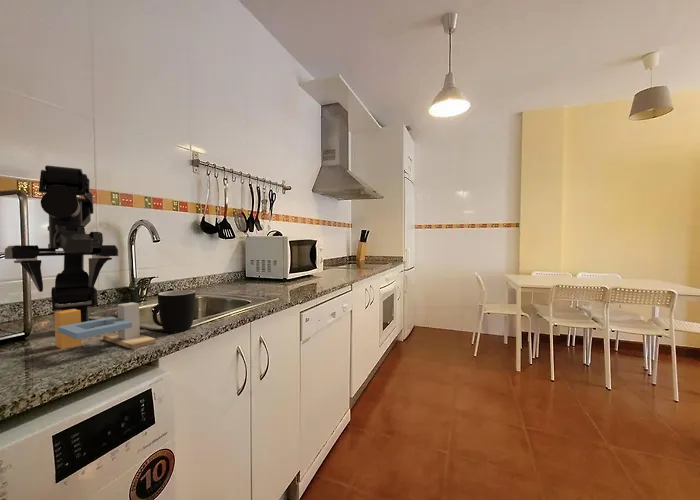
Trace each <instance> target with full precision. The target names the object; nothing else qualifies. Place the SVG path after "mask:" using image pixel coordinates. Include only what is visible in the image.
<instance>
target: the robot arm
mask: <svg viewBox="0 0 700 500" xmlns="http://www.w3.org/2000/svg"><path fill="white" fill-rule="evenodd" d="M90 183H91V182H90V178H88V175H87V174H86V173H84V172H83V170H82V168H79V167H78V168H76V167H65V166H56V165H49V164H48V165H45V166H44V169H41V170H40V176H39V184H38V193H40V194H43V196H42V197H41V199H40V207H41V208H42V210H43V211H44V212H45V213H46V214H48V225H47V231H48V235H49V236H48V239H49V242H48V244H47V247H42V248H41V247H40V248H39V246H38V245H37V244H35V245H30V244H28V245H25V244H24V245H18V244H17V245H8V246H6V247H5V249H4V260H13V263H14V264H20V265H21V266H22V267H23V269H24V270H25V272H27V274H28V275H29V277H30V278H31V280H32V282H33V284H34V285H35V287H36V289H37V291H38V293H43V292H44V283H43V281H44V280H43V276H42V269H41V266H42V259H38V257H56V256H57V257H58V256H61V257H62V256H63V270H62V271H61V272H59V273H57V274H56V276H55V281H54V283H55V284H54V286H52V287H51V292H50V294H51V306H52V311H54V312H55V311H63V310H70V309H77V310H81V322H86V321H90V319H89V318H90V314H89V312H90V310H89V308H90V307H91V308H93V307H95V306H98V305H99V304H98V301H99V300H98V289H97V288H95V284H96V282H97V280H98V277H99V274H100V273H101V271H102V268H103V267H104V265H105V264H106V263H107V262H108V261H111V260H113V257H119V249H118V247H117V246H116V245H115V244H111V245H110V244H107V245H106V244H105V245H104V235H103V232H101V231H90V232H89V233H86V230H85V229H86V228H85V227H87V226H88V224H90V223H91V219H92V218H91V217H92V216H91V215H93V214H94V197H93V193H92V192H90ZM78 196H80V197H78ZM81 196H82V197H81ZM59 249H62V250H59ZM84 256H91V257H89V258H88V272H87V271H85V270H84V269H85V266H84V265H85V260H84V258H85V257H84ZM93 328H95V327H93ZM88 329H90V328H88Z"/></svg>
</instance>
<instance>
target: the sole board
mask: <svg viewBox="0 0 700 500" xmlns="http://www.w3.org/2000/svg"><path fill="white" fill-rule="evenodd" d="M103 340H104V341H106V342H107V341H108V342H111V343H113V344H116V345H119V346H122V347H124V348H128V349H131V350H135V349H139V348H143V347H147V346H149V345H153V344H156V343H157V339H156V338H155V337H152V336H148V335H144V334H140V336H139V337H135V338H131V339H127V340H124V339H121V338H118V331H115V332H111V333H106V334H103Z"/></svg>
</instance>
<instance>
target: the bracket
mask: <svg viewBox="0 0 700 500" xmlns="http://www.w3.org/2000/svg"><path fill="white" fill-rule="evenodd" d="M93 327H95V328H93ZM88 328H90V329H88ZM140 331H141V329H140V303H138V302H127V303H119V304H117V318H116V317H113V316H109V317H103V318H99V319H92V320H89V321H86V322H81V323H75V324H70V325H64V326H59V327H58V332H59V333H61V334H64V335H67V336H69V337H72V338H74V339H81V340H82V339H85V338H89V337H94V336H99V335H105V334H110V333H115V332H118V338H121V339H124V340H127V339H131V338H135V337H139V336H140Z"/></svg>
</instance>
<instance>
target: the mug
mask: <svg viewBox="0 0 700 500" xmlns="http://www.w3.org/2000/svg"><path fill="white" fill-rule="evenodd" d="M195 309H196V291H195V290H192V289H177V290H168V291H161V292H158V294H157V304H156V305H155V307H154V309H153V312H152V319H153V323H154V324H155V325H156V326H158V327H161V329H162V330H163V331H164V332H165V333H181V332H185V331H188V330H190V329H191V328H192V325H193V322H194V317H195V311H196V310H195ZM158 312H159V313H158ZM158 315H159V319H158ZM159 320H160V321H159Z"/></svg>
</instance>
